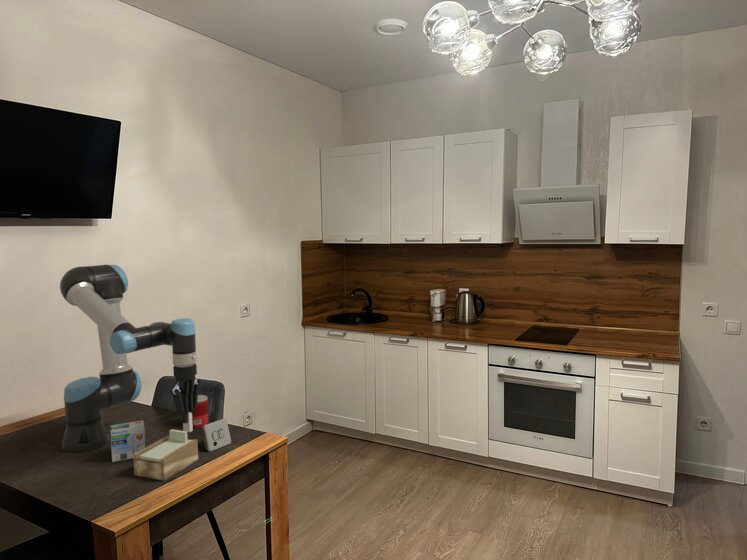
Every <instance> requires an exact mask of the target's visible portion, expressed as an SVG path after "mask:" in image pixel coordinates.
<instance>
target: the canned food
mask: <svg viewBox="0 0 747 560" xmlns="http://www.w3.org/2000/svg"><path fill="white" fill-rule="evenodd" d="M208 399H209V398H208V396H207V395H205V394H198V400H197V407H196V408H194V410H195V412H193V420H192V426H193V429H199V428H200V429H201V427H204V425H206V424H209V423H210V421H209V420H210V419H209V400H208Z"/></svg>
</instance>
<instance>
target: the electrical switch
mask: <svg viewBox="0 0 747 560" xmlns="http://www.w3.org/2000/svg"><path fill="white" fill-rule="evenodd" d="M200 430H201V435H202V440H203V442H204V448H205V450H207V452H213V451H215V450H218V449H220V448H223V447H225V446H228V445H231V444H232V439H231V433H230V430H229V425H228V420H227V419H226V418H222V419H219V420H215V421H213V422H208V424H206V425H204V427H201V428H200Z"/></svg>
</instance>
